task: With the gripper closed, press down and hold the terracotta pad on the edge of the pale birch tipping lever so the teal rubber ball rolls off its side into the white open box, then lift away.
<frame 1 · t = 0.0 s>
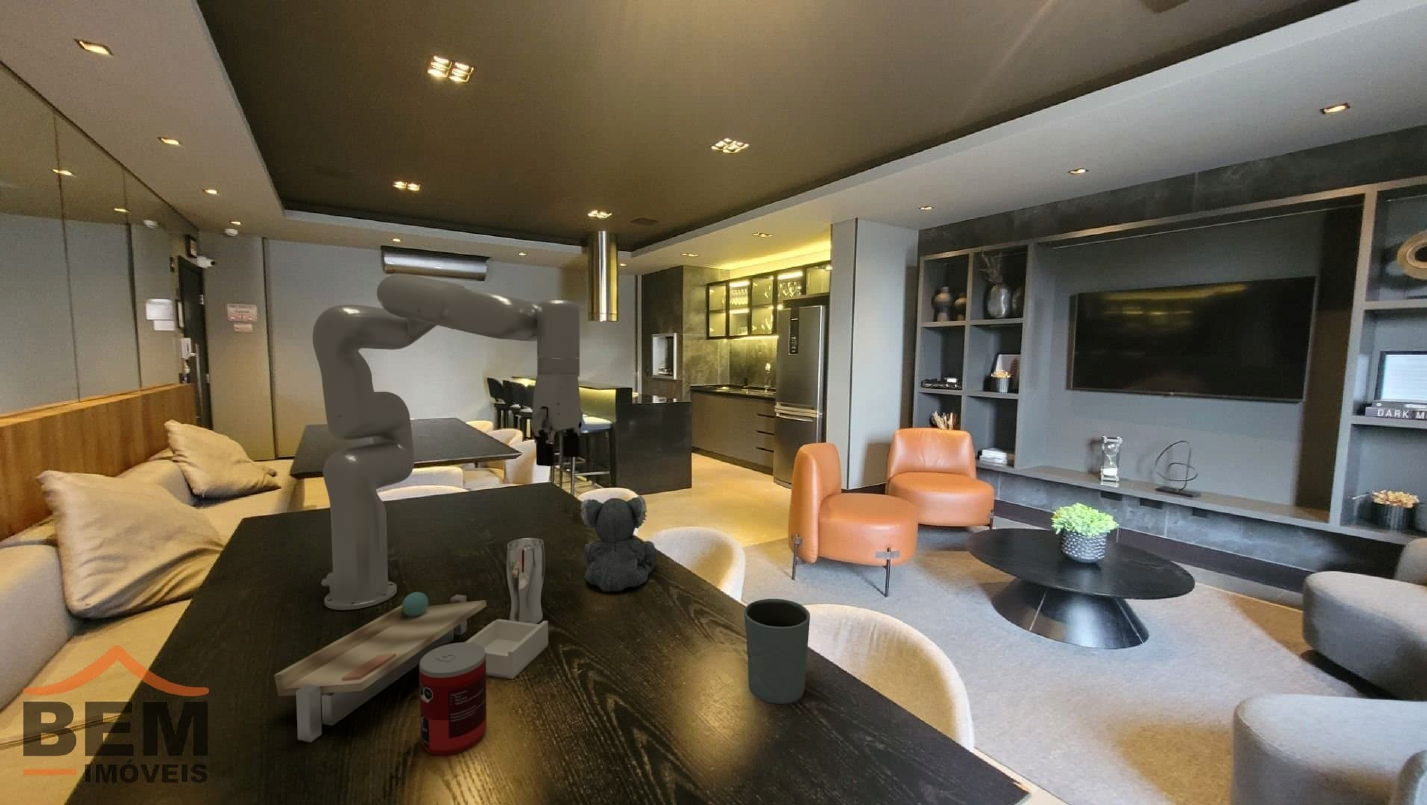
hand: (558, 460, 101), 31 cm above the table, tool pointing down, fingers open, 9 cm apart
lever: (394, 637, 85), point 6 cm above the table, hinge at 12.0°, touching ball
ball: (415, 604, 95), point 7 cm above the table, tilted 7°, touching lever
canned food: (454, 737, 72), on the table
beer glass: (526, 620, 105), on the table
dark green cup: (774, 687, 85), on the table
lever stand: (396, 675, 86), on the table
koala plush: (617, 580, 126), on the table
white open box: (503, 657, 92), on the table
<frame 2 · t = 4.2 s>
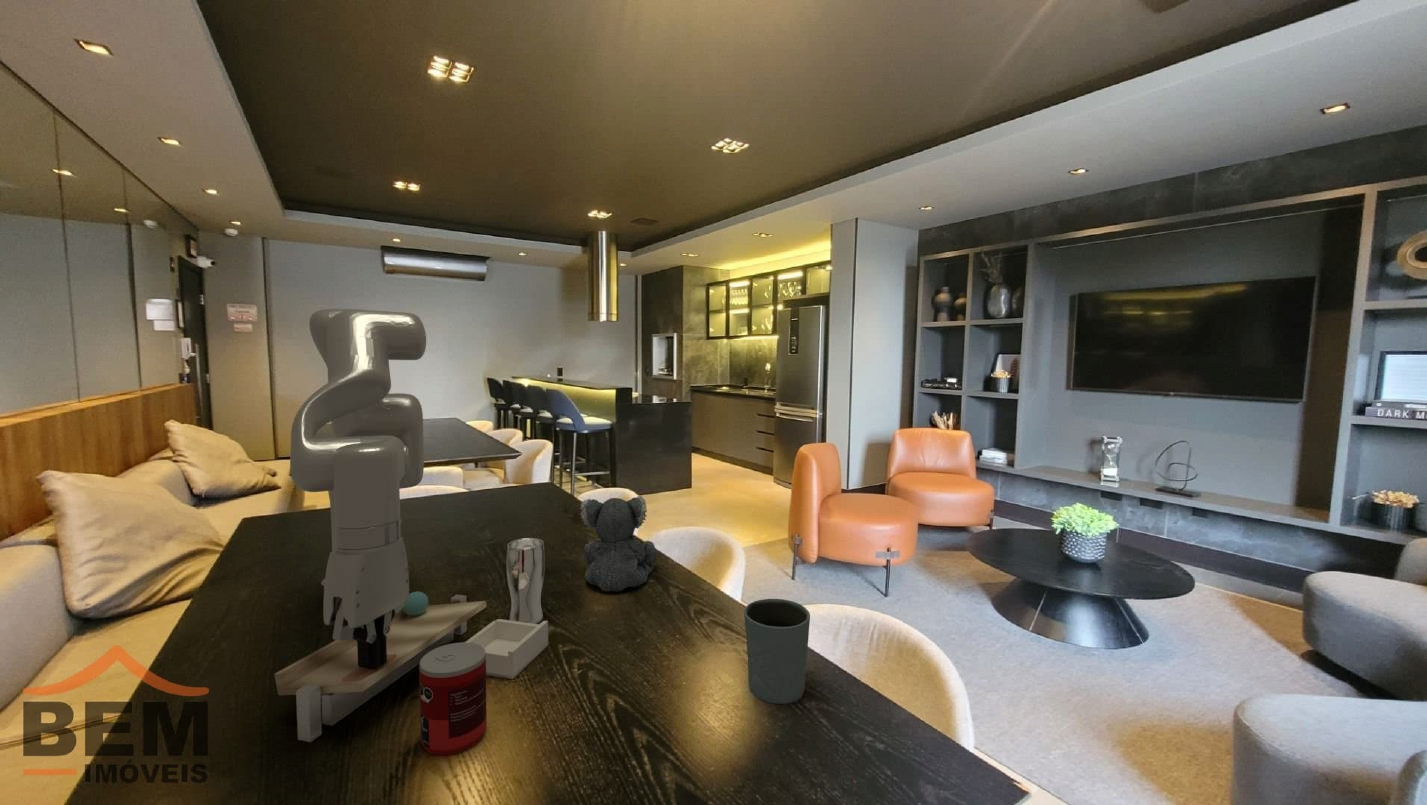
hand: (372, 665, 75), 8 cm above the table, tool pointing down, fingers closed
lever: (394, 637, 85), point 6 cm above the table, hinge at 10.7°, touching ball, gripper
everything else where it was.
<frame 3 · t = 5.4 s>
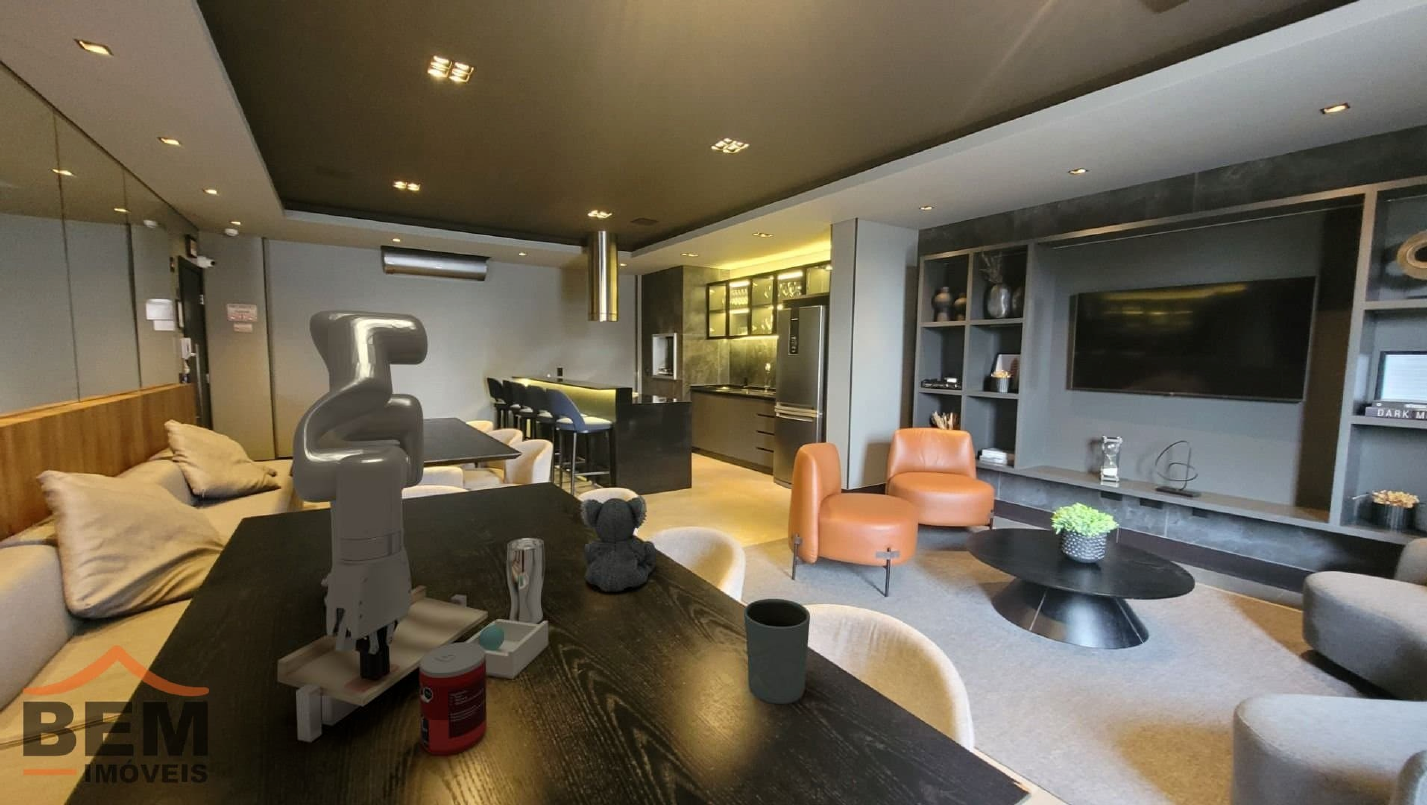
hand: (375, 675, 75), 6 cm above the table, tool pointing down, fingers closed
lever: (396, 637, 85), point 6 cm above the table, hinge at -5.3°, touching gripper
ball: (491, 637, 92), point 3 cm above the table, tilted 70°
everything else where it was.
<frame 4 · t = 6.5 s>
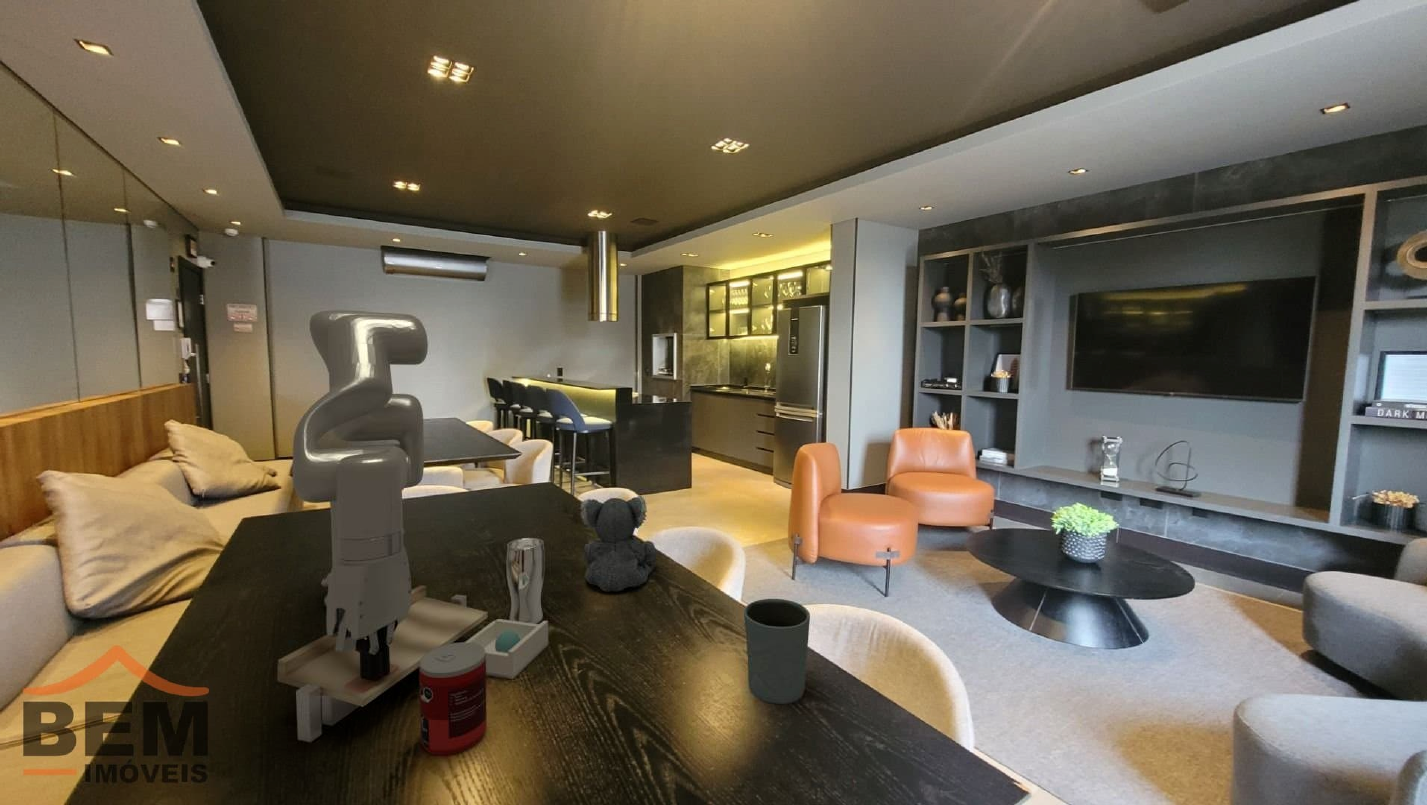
hand: (375, 675, 75), 6 cm above the table, tool pointing down, fingers closed
lever: (396, 637, 85), point 6 cm above the table, hinge at -5.8°, touching gripper
ball: (507, 643, 91), point 2 cm above the table, tilted 178°, touching white open box
everything else where it was.
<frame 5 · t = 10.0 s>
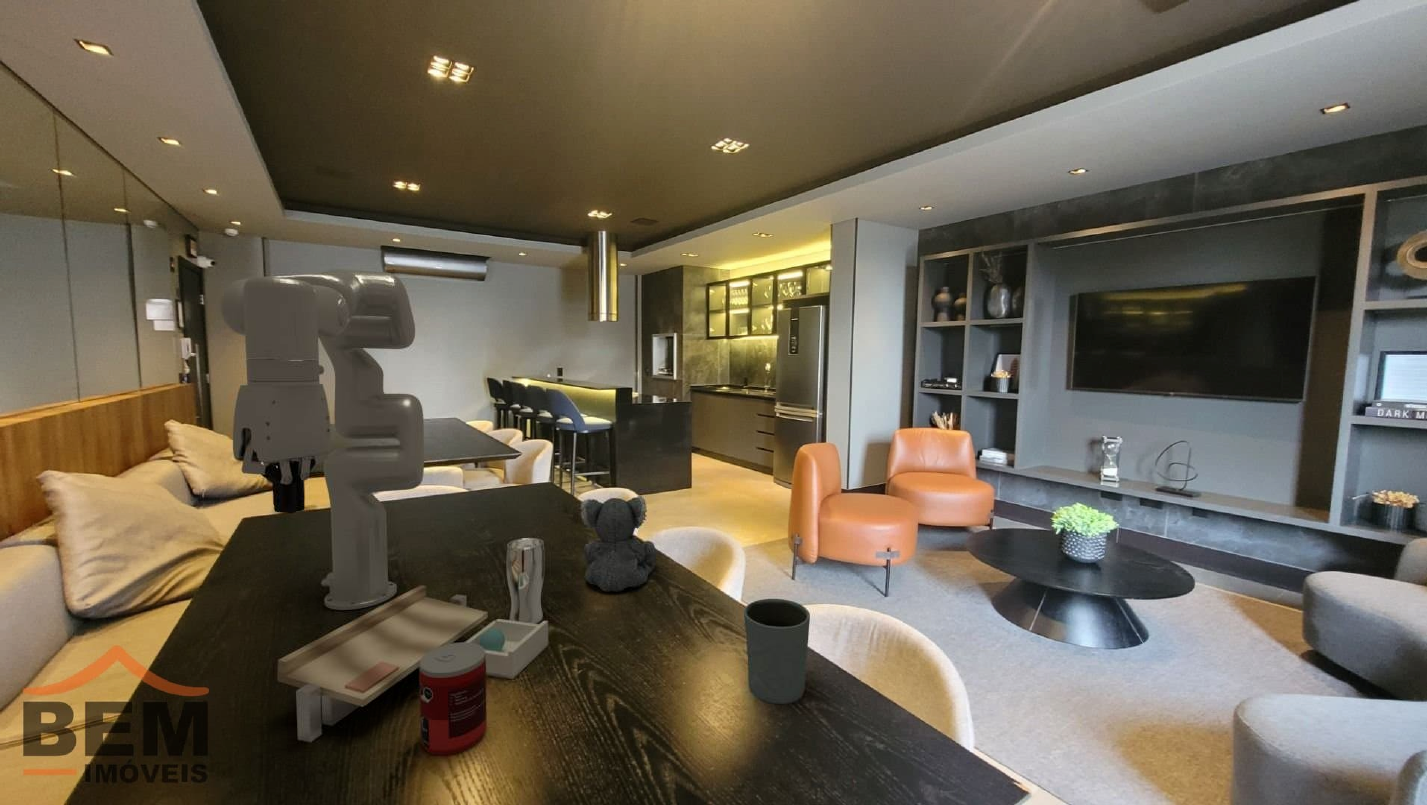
hand: (289, 510, 73), 29 cm above the table, tool pointing down, fingers closed
lever: (396, 637, 85), point 6 cm above the table, hinge at -5.9°
ball: (492, 641, 92), point 2 cm above the table, tilted 94°, touching white open box
everything else where it was.
at the end: ball inside the target area on the white open box (1.9 cm from its centre), point 2.4 cm above the white open box's base; ball point 2.4 cm above the table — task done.
